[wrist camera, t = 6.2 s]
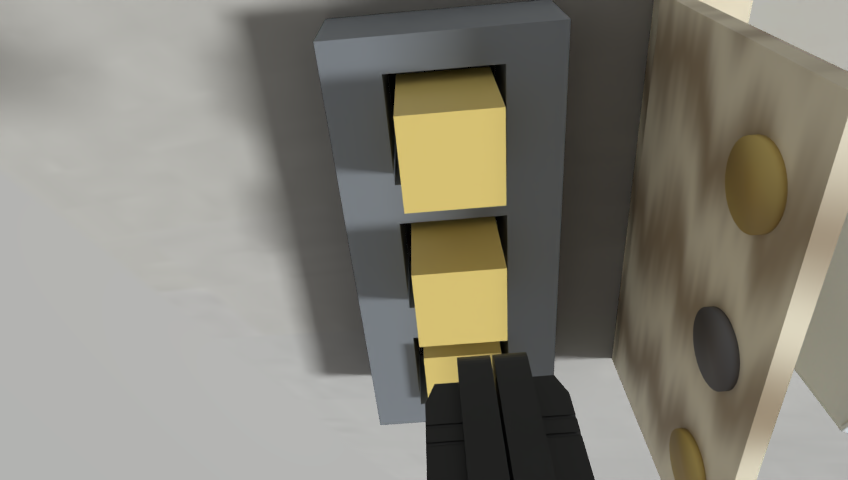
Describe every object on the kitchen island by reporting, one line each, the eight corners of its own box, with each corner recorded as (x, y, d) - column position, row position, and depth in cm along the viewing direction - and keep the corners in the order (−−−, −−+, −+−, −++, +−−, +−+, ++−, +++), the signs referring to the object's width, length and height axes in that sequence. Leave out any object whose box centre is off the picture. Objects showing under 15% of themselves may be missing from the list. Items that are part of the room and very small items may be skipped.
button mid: (411, 216, 29) (411, 275, 25) (492, 209, 29) (506, 268, 25) (418, 281, 31) (419, 347, 27) (494, 275, 31) (507, 340, 27)
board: (325, 19, 27) (313, 41, 23) (550, -2, 26) (570, 19, 23) (382, 375, 38) (380, 425, 35) (539, 364, 38) (551, 412, 35)
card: (648, -10, 26) (842, 95, 15) (747, -19, 26) (1023, 79, 14) (606, 359, 38) (696, 583, 26) (675, 354, 38) (795, 576, 26)
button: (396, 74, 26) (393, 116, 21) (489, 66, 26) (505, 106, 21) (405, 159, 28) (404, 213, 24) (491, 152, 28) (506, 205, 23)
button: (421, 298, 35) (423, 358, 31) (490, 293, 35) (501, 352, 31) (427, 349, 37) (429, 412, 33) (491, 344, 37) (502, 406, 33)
